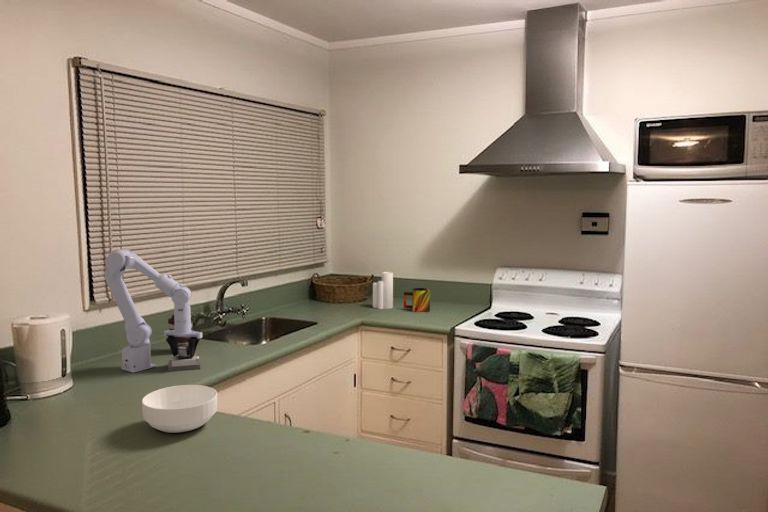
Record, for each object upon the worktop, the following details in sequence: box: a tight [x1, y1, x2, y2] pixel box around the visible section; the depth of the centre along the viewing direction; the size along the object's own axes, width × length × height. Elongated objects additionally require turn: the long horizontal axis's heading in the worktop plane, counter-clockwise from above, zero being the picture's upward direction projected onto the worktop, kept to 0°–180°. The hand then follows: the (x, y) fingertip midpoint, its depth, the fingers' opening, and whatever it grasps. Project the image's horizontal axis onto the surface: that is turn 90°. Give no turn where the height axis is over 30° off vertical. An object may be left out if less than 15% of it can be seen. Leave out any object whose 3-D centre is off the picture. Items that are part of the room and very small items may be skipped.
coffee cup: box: [167, 314, 195, 345], centre depth 238 cm, size 10×10×15 cm
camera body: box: [167, 354, 201, 373], centre depth 217 cm, size 11×9×4 cm
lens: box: [178, 344, 191, 360], centre depth 217 cm, size 5×5×6 cm
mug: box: [403, 287, 431, 313], centre depth 322 cm, size 10×14×12 cm
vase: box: [372, 271, 394, 310], centre depth 330 cm, size 11×7×20 cm, turn 93°
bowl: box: [141, 384, 218, 434], centre depth 162 cm, size 20×20×8 cm
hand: (183, 356), depth 217 cm, fingers open, 6 cm apart
